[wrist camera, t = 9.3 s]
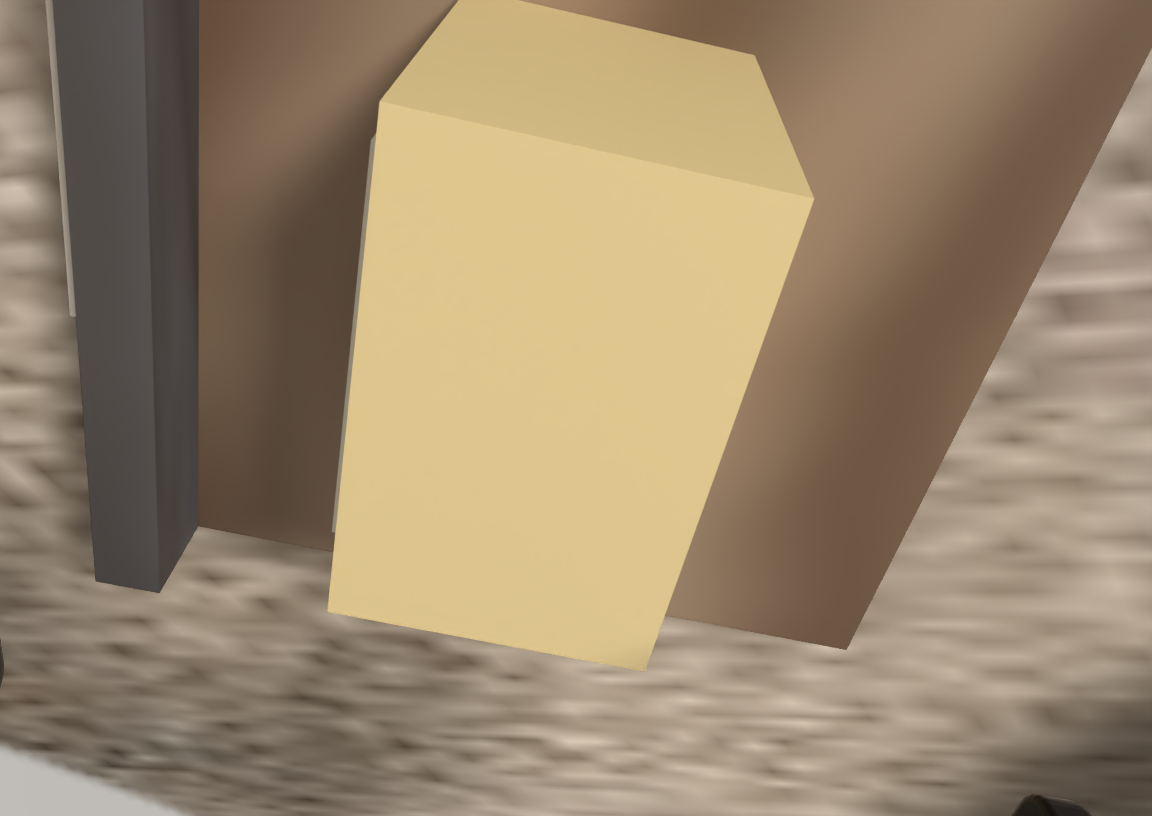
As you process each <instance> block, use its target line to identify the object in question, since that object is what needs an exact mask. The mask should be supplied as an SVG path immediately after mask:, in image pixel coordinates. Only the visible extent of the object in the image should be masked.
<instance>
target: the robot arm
mask: <svg viewBox="0 0 1152 816" xmlns="http://www.w3.org/2000/svg"><path fill="white" fill-rule="evenodd" d="M3 674H4V660H3V654H2V647H1V640H0V686H1V683H2V679H3ZM1011 816H1092V815H1091V814H1090V813H1089V812H1088V811H1087V810H1086V809H1085V808H1084V807H1082V806H1081V805H1080V804H1078V803H1076V802H1074V801H1072V800H1068V799H1064V798H1058V797H1053V796H1048V795H1042V794H1031V795H1029V796H1027V797H1025V798H1024V799H1023V800H1022V801H1021V802H1020V804H1019V805H1018V807H1017V808H1016V809H1015V811H1014V812H1013V813H1012V815H1011Z"/></svg>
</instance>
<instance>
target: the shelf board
mask: <svg viewBox="0 0 1152 816" xmlns="http://www.w3.org/2000/svg"><path fill="white" fill-rule="evenodd" d="M457 1H458V0H45V2H46V15H47V27H48V40H49V53H50V66H51V79H52V92H53V104H54V117H55V130H56V143H57V156H58V168H59V181H60V194H61V207H62V220H63V232H64V245H65V258H66V271H67V284H68V297H69V309H70V316H71V317H76V324H77V338H78V351H79V365H80V378H81V392H82V405H83V418H84V432H85V445H86V459H87V472H88V486H89V499H90V512H91V526H92V539H93V553H94V566H95V580H96V581H97V582H102V583H107V584H113V585H118V586H123V587H129V588H134V589H140V590H145V591H150V592H156V593H160V591H161V589H162V588H163V586H164V584H165V583H166V581H167V579H168V577H169V576H170V574H171V572H172V570H173V569H174V567H175V565H176V564H177V562H178V560H179V558H180V557H181V555H182V553H183V552H184V550H185V548H186V546H187V545H188V543H189V541H190V540H191V538H192V536H193V534H194V533H195V531H196V529H197V527H198V526H200V527H205V528H210V529H216V530H221V531H226V532H231V533H237V534H242V535H247V536H252V537H258V538H263V539H268V540H273V541H279V542H284V543H289V544H294V545H300V546H305V547H310V548H315V549H320V550H326V551H331V552H334V542H335V532H332V525H333V515H334V505H335V495H336V485H337V475H338V465H339V455H340V445H341V435H342V425H343V415H344V405H345V395H346V385H347V374H348V364H349V354H350V344H351V334H352V324H353V314H354V304H355V294H356V284H357V274H358V264H359V254H360V244H361V234H362V224H363V214H364V204H365V194H366V184H367V174H368V164H369V154H370V144H371V139H372V138H373V137H374V135H375V134H376V132H377V122H378V112H379V102H380V100H381V99H382V98H383V96H384V95H385V94H386V92H387V91H388V90H389V89H390V87H391V86H392V85H393V83H394V82H395V81H396V80H397V78H398V77H399V76H400V75H401V73H402V72H403V71H404V69H405V68H406V67H407V66H408V64H409V63H410V62H411V60H412V59H413V58H414V57H415V55H416V54H417V53H418V51H419V50H420V49H421V48H422V46H423V45H424V44H425V42H426V41H427V40H428V39H429V37H430V36H431V35H432V34H433V32H434V31H435V30H436V28H437V27H438V26H439V25H440V23H441V22H442V21H443V19H444V18H445V17H446V16H447V14H448V13H449V12H450V10H451V9H452V8H453V7H454V5H455V4H456V3H457ZM520 1H524V2H528V3H533V4H537V5H541V6H546V7H550V8H554V9H558V10H563V11H567V12H571V13H576V14H580V15H584V16H588V17H593V18H597V19H601V20H605V21H610V22H614V23H618V24H623V25H627V26H631V27H635V28H640V29H644V30H648V31H653V32H657V33H661V34H665V35H670V36H674V37H678V38H683V39H687V40H691V41H695V42H700V43H704V44H708V45H712V46H717V47H721V48H725V49H730V50H734V51H738V52H742V53H747V54H751V55H755V57H756V59H757V62H758V64H759V67H760V69H761V72H762V74H763V76H764V79H765V81H766V84H767V86H768V88H769V91H770V93H771V96H772V98H773V100H774V103H775V105H776V108H777V110H778V112H779V115H780V117H781V120H782V122H783V124H784V127H785V129H786V132H787V134H788V137H789V139H790V141H791V144H792V146H793V149H794V151H795V153H796V156H797V158H798V161H799V163H800V165H801V168H802V170H803V173H804V175H805V177H806V180H807V182H808V185H809V187H810V189H811V192H812V194H813V197H814V201H813V204H812V207H811V210H810V212H809V215H808V218H807V221H806V224H805V226H804V229H803V232H802V235H801V237H800V240H799V243H798V246H797V249H796V251H795V254H794V257H793V260H792V263H791V265H790V268H789V271H788V274H787V276H786V279H785V282H784V285H783V288H782V290H781V293H780V296H779V299H778V302H777V304H776V307H775V310H774V313H773V315H772V318H771V321H770V324H769V327H768V329H767V332H766V335H765V338H764V341H763V343H762V346H761V349H760V352H759V354H758V357H757V360H756V363H755V366H754V368H753V371H752V374H751V377H750V380H749V382H748V385H747V388H746V391H745V393H744V396H743V399H742V402H741V405H740V407H739V410H738V413H737V416H736V419H735V421H734V424H733V427H732V430H731V432H730V435H729V438H728V441H727V444H726V446H725V449H724V452H723V455H722V458H721V460H720V463H719V466H718V469H717V471H716V474H715V477H714V480H713V483H712V485H711V488H710V491H709V494H708V497H707V499H706V502H705V505H704V508H703V511H702V513H701V516H700V519H699V522H698V524H697V527H696V530H695V533H694V536H693V538H692V541H691V544H690V547H689V550H688V552H687V555H686V558H685V561H684V563H683V566H682V569H681V572H680V575H679V577H678V580H677V583H676V586H675V589H674V591H673V594H672V597H671V600H670V602H669V605H668V608H667V611H666V614H665V615H666V616H672V617H677V618H682V619H687V620H693V621H698V622H703V623H708V624H714V625H719V626H724V627H729V628H734V629H740V630H745V631H750V632H755V633H761V634H766V635H771V636H776V637H782V638H787V639H792V640H797V641H803V642H808V643H813V644H818V645H824V646H829V647H834V648H839V649H845V650H847V648H848V646H849V644H850V642H851V640H852V638H853V636H854V634H855V632H856V630H857V628H858V626H859V624H860V622H861V620H862V618H863V616H864V614H865V612H866V610H867V608H868V606H869V604H870V602H871V600H872V598H873V596H874V594H875V592H876V590H877V588H878V587H879V585H880V583H881V581H882V579H883V577H884V575H885V573H886V571H887V569H888V567H889V565H890V563H891V561H892V559H893V557H894V555H895V553H896V551H897V549H898V547H899V545H900V543H901V541H902V539H903V537H904V535H905V533H906V531H907V529H908V527H909V525H910V523H911V521H912V519H913V518H914V516H915V514H916V512H917V510H918V508H919V506H920V504H921V502H922V500H923V498H924V496H925V494H926V492H927V490H928V488H929V486H930V484H931V482H932V480H933V478H934V476H935V474H936V472H937V470H938V468H939V466H940V464H941V462H942V460H943V458H944V456H945V454H946V452H947V450H948V448H949V447H950V445H951V443H952V441H953V439H954V437H955V435H956V433H957V431H958V429H959V427H960V425H961V423H962V421H963V419H964V417H965V415H966V413H967V411H968V409H969V407H970V405H971V403H972V401H973V399H974V397H975V395H976V393H977V391H978V389H979V387H980V385H981V383H982V381H983V379H984V378H985V376H986V374H987V372H988V370H989V368H990V366H991V364H992V362H993V360H994V358H995V356H996V354H997V352H998V350H999V348H1000V346H1001V344H1002V342H1003V340H1004V338H1005V336H1006V334H1007V332H1008V330H1009V328H1010V326H1011V324H1012V322H1013V320H1014V318H1015V316H1016V314H1017V312H1018V310H1019V309H1020V307H1021V305H1022V303H1023V301H1024V299H1025V297H1026V295H1027V293H1028V291H1029V289H1030V287H1031V285H1032V283H1033V281H1034V279H1035V277H1036V275H1037V273H1038V271H1039V269H1040V267H1041V265H1042V263H1043V261H1044V259H1045V257H1046V255H1047V253H1048V251H1049V249H1050V247H1051V245H1052V243H1053V241H1054V239H1055V238H1056V236H1057V234H1058V232H1059V230H1060V228H1061V226H1062V224H1063V222H1064V220H1065V218H1066V216H1067V214H1068V212H1069V210H1070V208H1071V206H1072V204H1073V202H1074V200H1075V198H1076V196H1077V194H1078V192H1079V190H1080V188H1081V186H1082V184H1083V182H1084V180H1085V178H1086V176H1087V174H1088V172H1089V170H1090V169H1091V167H1092V165H1093V163H1094V161H1095V159H1096V157H1097V155H1098V153H1099V151H1100V149H1101V147H1102V145H1103V143H1104V141H1105V139H1106V137H1107V135H1108V133H1109V131H1110V129H1111V127H1112V125H1113V123H1114V121H1115V119H1116V117H1117V115H1118V113H1119V111H1120V109H1121V107H1122V105H1123V103H1124V101H1125V100H1126V98H1127V96H1128V94H1129V92H1130V90H1131V88H1132V86H1133V84H1134V82H1135V80H1136V78H1137V76H1138V74H1139V72H1140V70H1141V68H1142V66H1143V64H1144V62H1145V60H1146V58H1147V56H1148V54H1149V52H1150V50H1151V48H1152V0H520Z"/></svg>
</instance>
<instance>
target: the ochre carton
mask: <svg viewBox="0 0 1152 816" xmlns="http://www.w3.org/2000/svg"><path fill="white" fill-rule="evenodd" d="M813 201H814V197H813V194H812V192H811V189H810V187H809V185H808V182H807V180H806V177H805V175H804V173H803V170H802V168H801V165H800V163H799V161H798V158H797V156H796V153H795V151H794V149H793V146H792V144H791V141H790V139H789V137H788V134H787V132H786V129H785V127H784V124H783V122H782V120H781V117H780V115H779V112H778V110H777V108H776V105H775V103H774V100H773V98H772V96H771V93H770V91H769V88H768V86H767V84H766V81H765V79H764V76H763V74H762V72H761V69H760V67H759V64H758V62H757V59H756V57H755V55H751V54H747V53H742V52H738V51H734V50H730V49H725V48H721V47H717V46H712V45H708V44H704V43H700V42H695V41H691V40H687V39H683V38H678V37H674V36H670V35H665V34H661V33H657V32H653V31H648V30H644V29H640V28H635V27H631V26H627V25H623V24H618V23H614V22H610V21H605V20H601V19H597V18H593V17H588V16H584V15H580V14H576V13H571V12H567V11H563V10H558V9H554V8H550V7H546V6H541V5H537V4H533V3H528V2H524V1H520V0H458V1H457V3H456V4H455V5H454V7H453V8H452V9H451V10H450V12H449V13H448V14H447V16H446V17H445V18H444V19H443V21H442V22H441V23H440V25H439V26H438V27H437V28H436V30H435V31H434V32H433V34H432V35H431V36H430V37H429V39H428V40H427V41H426V42H425V44H424V45H423V46H422V48H421V49H420V50H419V51H418V53H417V54H416V55H415V57H414V58H413V59H412V60H411V62H410V63H409V64H408V66H407V67H406V68H405V69H404V71H403V72H402V73H401V75H400V76H399V77H398V78H397V80H396V81H395V82H394V83H393V85H392V86H391V87H390V89H389V90H388V91H387V92H386V94H385V95H384V96H383V98H382V99H381V100H380V102H379V112H378V122H377V132H376V134H375V135H374V137H373V138H372V139H371V144H370V154H369V164H368V174H367V184H366V194H365V204H364V214H363V224H362V234H361V244H360V254H359V264H358V274H357V284H356V294H355V304H354V314H353V324H352V334H351V344H350V354H349V364H348V374H347V385H346V395H345V405H344V415H343V425H342V435H341V445H340V455H339V465H338V475H337V485H336V495H335V505H334V515H333V525H332V532H335V542H334V552H333V562H332V572H331V581H330V591H329V601H328V611H327V612H330V613H336V614H341V615H346V616H352V617H357V618H362V619H368V620H373V621H378V622H383V623H389V624H394V625H399V626H405V627H410V628H415V629H421V630H426V631H431V632H437V633H442V634H447V635H453V636H458V637H463V638H469V639H474V640H479V641H485V642H490V643H495V644H500V645H506V646H511V647H516V648H522V649H527V650H532V651H538V652H543V653H548V654H554V655H559V656H564V657H570V658H575V659H580V660H586V661H591V662H596V663H601V664H607V665H612V666H617V667H623V668H628V669H633V670H639V671H644V672H645V669H646V667H647V664H648V661H649V658H650V655H651V653H652V650H653V647H654V644H655V641H656V639H657V636H658V633H659V630H660V628H661V625H662V622H663V619H664V616H665V614H666V611H667V608H668V605H669V602H670V600H671V597H672V594H673V591H674V589H675V586H676V583H677V580H678V577H679V575H680V572H681V569H682V566H683V563H684V561H685V558H686V555H687V552H688V550H689V547H690V544H691V541H692V538H693V536H694V533H695V530H696V527H697V524H698V522H699V519H700V516H701V513H702V511H703V508H704V505H705V502H706V499H707V497H708V494H709V491H710V488H711V485H712V483H713V480H714V477H715V474H716V471H717V469H718V466H719V463H720V460H721V458H722V455H723V452H724V449H725V446H726V444H727V441H728V438H729V435H730V432H731V430H732V427H733V424H734V421H735V419H736V416H737V413H738V410H739V407H740V405H741V402H742V399H743V396H744V393H745V391H746V388H747V385H748V382H749V380H750V377H751V374H752V371H753V368H754V366H755V363H756V360H757V357H758V354H759V352H760V349H761V346H762V343H763V341H764V338H765V335H766V332H767V329H768V327H769V324H770V321H771V318H772V315H773V313H774V310H775V307H776V304H777V302H778V299H779V296H780V293H781V290H782V288H783V285H784V282H785V279H786V276H787V274H788V271H789V268H790V265H791V263H792V260H793V257H794V254H795V251H796V249H797V246H798V243H799V240H800V237H801V235H802V232H803V229H804V226H805V224H806V221H807V218H808V215H809V212H810V210H811V207H812V204H813Z"/></svg>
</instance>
